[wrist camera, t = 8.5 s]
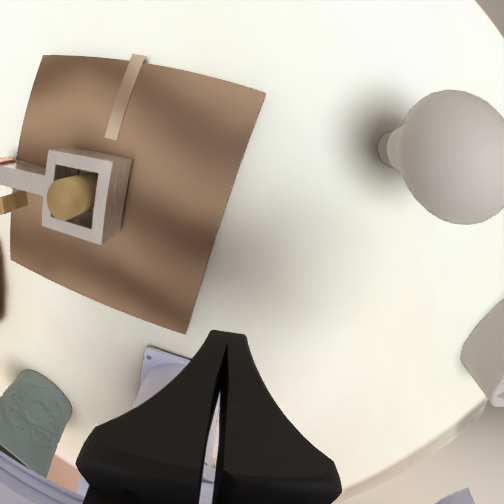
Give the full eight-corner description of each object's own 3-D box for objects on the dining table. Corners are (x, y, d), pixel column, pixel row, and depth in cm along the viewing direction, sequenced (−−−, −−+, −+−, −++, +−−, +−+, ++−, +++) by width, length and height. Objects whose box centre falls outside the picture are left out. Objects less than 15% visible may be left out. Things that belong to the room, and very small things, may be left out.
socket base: (187, 328, 23) (172, 372, 18) (12, 254, 21) (-23, 276, 16) (268, 88, 16) (272, 67, 12) (47, 51, 15) (6, 39, 10)
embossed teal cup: (61, 376, 26) (14, 451, 14) (88, 428, 29) (58, 495, 18) (7, 357, 26) (-39, 415, 14) (35, 408, 29) (2, 463, 18)
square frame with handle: (132, 158, 17) (112, 162, 14) (120, 231, 19) (101, 245, 16) (7, 138, 16) (-16, 140, 13) (2, 196, 17) (-20, 204, 15)
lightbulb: (332, 125, 17) (421, 106, 7) (404, 94, 16) (517, 71, 6) (370, 207, 19) (468, 270, 9) (435, 172, 18) (549, 206, 8)
